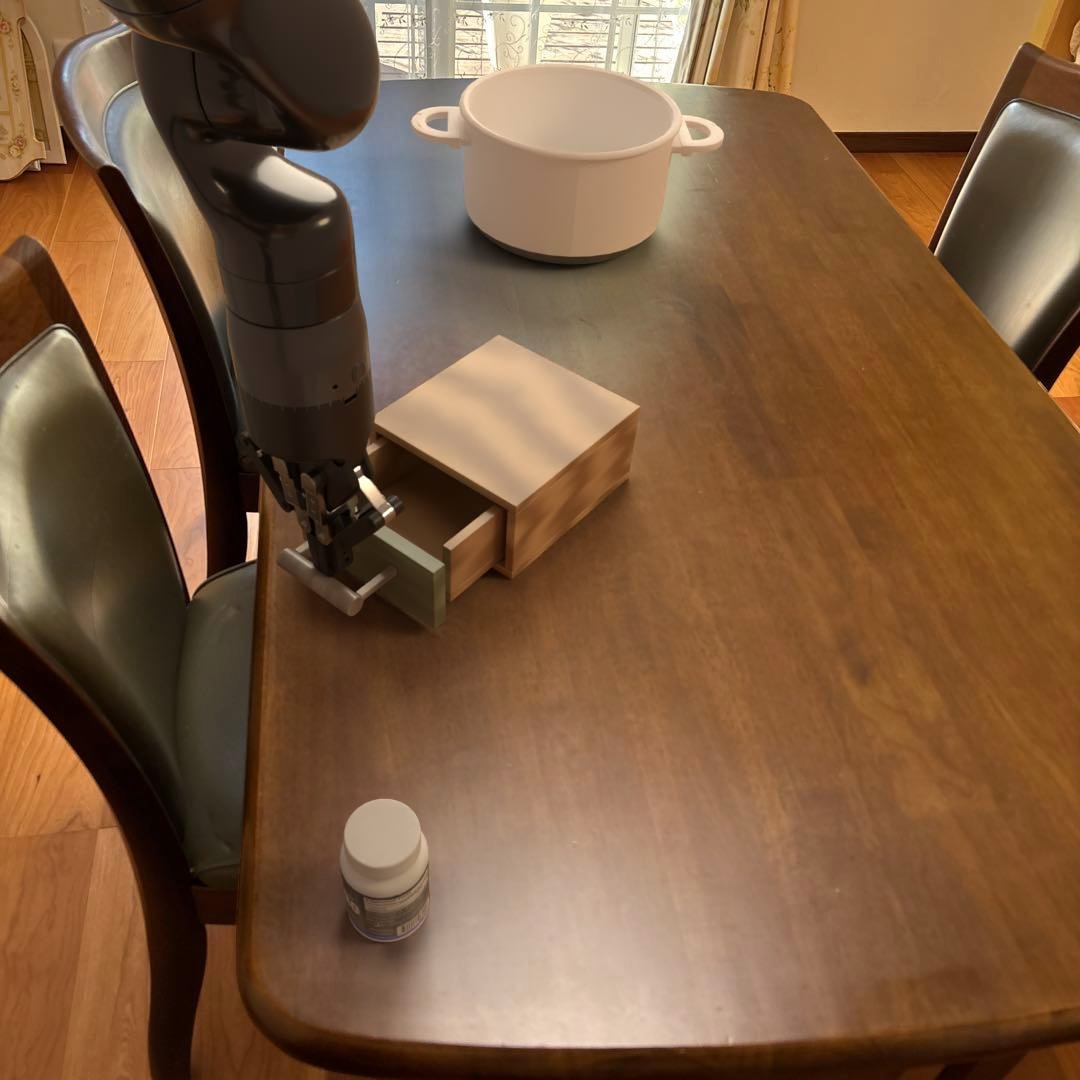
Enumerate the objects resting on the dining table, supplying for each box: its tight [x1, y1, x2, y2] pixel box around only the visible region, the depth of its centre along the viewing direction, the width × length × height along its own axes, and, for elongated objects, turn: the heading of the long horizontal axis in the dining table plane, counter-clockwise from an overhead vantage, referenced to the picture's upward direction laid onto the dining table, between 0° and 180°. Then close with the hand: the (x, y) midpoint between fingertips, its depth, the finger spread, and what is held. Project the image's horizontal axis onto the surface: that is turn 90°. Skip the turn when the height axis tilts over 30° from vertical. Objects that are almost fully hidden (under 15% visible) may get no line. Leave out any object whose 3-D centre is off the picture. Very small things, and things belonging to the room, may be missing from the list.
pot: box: [410, 63, 725, 265], centre depth 111 cm, size 33×23×14 cm
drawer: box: [276, 436, 508, 630], centre depth 75 cm, size 20×13×6 cm
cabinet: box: [368, 334, 641, 581], centre depth 82 cm, size 16×15×8 cm
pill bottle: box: [339, 798, 431, 943], centre depth 56 cm, size 5×5×8 cm
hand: (333, 565), depth 70 cm, fingers closed
